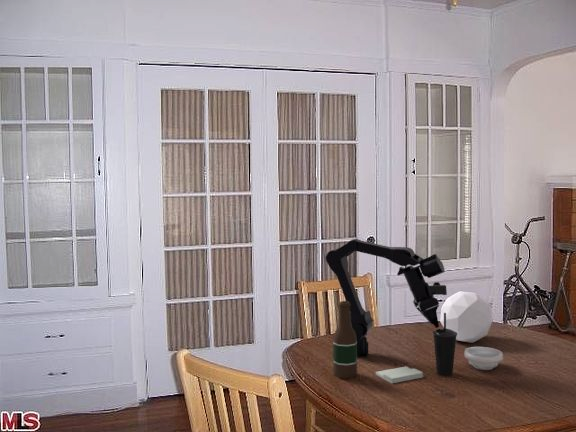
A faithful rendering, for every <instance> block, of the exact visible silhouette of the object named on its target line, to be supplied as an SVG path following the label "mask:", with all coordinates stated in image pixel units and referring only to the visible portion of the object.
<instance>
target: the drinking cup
mask: <svg viewBox="0 0 576 432" xmlns="http://www.w3.org/2000/svg"><path fill="white" fill-rule="evenodd" d="M432 335H433V344H434V345H433V346H434V354H435V356H434V357H435V366H436V367H435V368H436V374H437V375H438V376H439V377H452V376H453V371H454V362H455V361H454V360H455V353H456V345H457V344H456V342H457V340H456V336H457V332H455V331H453V330H451V329H447V328H446V313H444V327H441V328H437V329H434V330H433V331H432Z"/></svg>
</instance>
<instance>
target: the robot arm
mask: <svg viewBox="0 0 576 432" xmlns="http://www.w3.org/2000/svg"><path fill="white" fill-rule="evenodd" d="M355 252H357V253H359V252H360V253H363V254H366V255H371V256H376V257H379V258H384V259H386V260H388V261H390V262H391V263H394V264H396V265H398V266H400V267H399V268H398V272H397V276H402V275H403V276H404V278H405V280H406V282H407V285H408V287H409V291H410V292H411V294H412V297H413V298H414V299H413V301H412V302H413V305H414V307H415V309H417V311H418V312H419V313H420V314H421V315H422V316H423V317H424V319H426V320H427V322H429V323H430V324H431V325H433V326H434V327H435V328H437V329H438V328H439V327H440V324H439V319H438V314H437V310H438V308H439V306H440V302H439V300H438V298H436V297H434V296H439V295H443V296H447V295H448V292H447V290H448V289H447V285H446V284H441V283H440V282H439V281H436V282H433V284H431V285H429V283H428V282H426V280H425V278H424V277H426V278H428V279H431V278H433V277H436V276H438V275H441V274H444V273H445V272H446V271H445V266H444V263H443V262H442V261H441V259H440V257H439V256H438V254H436V253H434V254H432V255H430V256H428V257H426V258H423V257H421V256H420V255H418V254H416V253H415V251H414V250H413V249H412V248H411V247H406V246H402V247H401V246H387V245H383V244H377V243H374V242H370V241H365V240H361V239H358V238H353V239H350V240H349V241H348V242H347V243H345V244H344V245H342V246H341V247H339V248H334V249H332V250H329V251H328V252H327V253H326V255H325V261H326V264H327V265H328V267H329V268H330V270H331V271H332V272H333V274H335V276H336V277H337V280H338V284H339V286H340V288H341V291H342V293H343V297H344V298H345V301H348V302H350V320H351V326H352V328H353V329H354V331H355V333H356V337H357V358H360V357H361V358H363V357H364V358H366V357H367V358H368V357H369V341H368V340H367V339H368V338H367V337H366V336H368V333H369V332H371V330H372V329H373V327H374V321H375V320H374V319H373V318H372V315H371V311H370V310H367V311H366V310H365V309H364V307H363V305H362V304H361V301H360V297H359V295H358V293H357V290H356V287H355V285H354V282H353V280H352V277H351V275H350V272H349V260H348V257H350V256H351V255H352V254H354V253H355Z"/></svg>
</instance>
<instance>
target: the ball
mask: <svg viewBox="0 0 576 432" xmlns="http://www.w3.org/2000/svg"><path fill="white" fill-rule="evenodd" d="M444 313H446V328H447V329H451V330H453V331H455V332H457V336H456V341H460V342H466V343H475V342H477V341H478V340H480V339H482V338H484V337H486V336H487V335H488V333H489V331H490V329H491V326H492V323H493V320H494V318H493V311H492V309H491V307H490V303H488V302H487V301H486V300H485V299H484V298H482V297H481V296H480V295H479V294H478V293H477V292H471V291H462V290H460V291H457V292H456V293H453V295H450V296H448V297H447V298H446V299H445V301H444V303H443V304H442V306H441V310H440V320H439V321H440V323H441V325H442V328H444Z"/></svg>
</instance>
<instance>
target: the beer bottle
mask: <svg viewBox="0 0 576 432" xmlns="http://www.w3.org/2000/svg"><path fill="white" fill-rule="evenodd" d="M338 306H339V313H338V315H339V316H338V318H339V319H338V325H337V328H336V329H335V331H334V334H333V341H332V342H333V343H332V358H333V359H332V361H333V362H332V364H333V365H332V367H333V376H335V377H337V378H339V379H344V378H345V379H344V380H346V379H347V380H348V379H353V378H355V377H356V376H357V373H358V357H357V337H356V333H355V331H354V329H353V328H352V326H351V313H350V302H348V301H346V300H342V301H339V304H338Z"/></svg>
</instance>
